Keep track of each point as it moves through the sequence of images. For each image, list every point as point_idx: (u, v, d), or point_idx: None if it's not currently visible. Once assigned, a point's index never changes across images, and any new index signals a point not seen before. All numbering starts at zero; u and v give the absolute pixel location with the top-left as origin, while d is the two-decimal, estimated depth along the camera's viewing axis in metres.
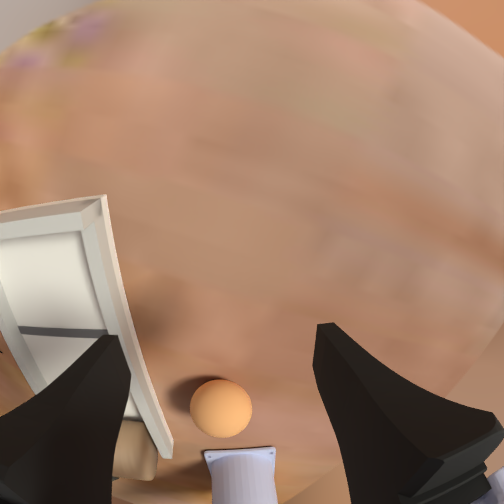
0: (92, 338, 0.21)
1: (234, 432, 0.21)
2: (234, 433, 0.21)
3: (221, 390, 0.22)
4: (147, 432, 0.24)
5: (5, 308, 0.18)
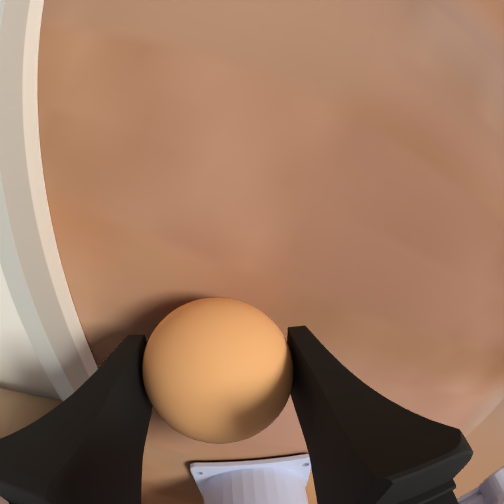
0: None
1: (253, 429, 0.08)
2: (252, 432, 0.08)
3: (218, 312, 0.09)
4: None
5: None
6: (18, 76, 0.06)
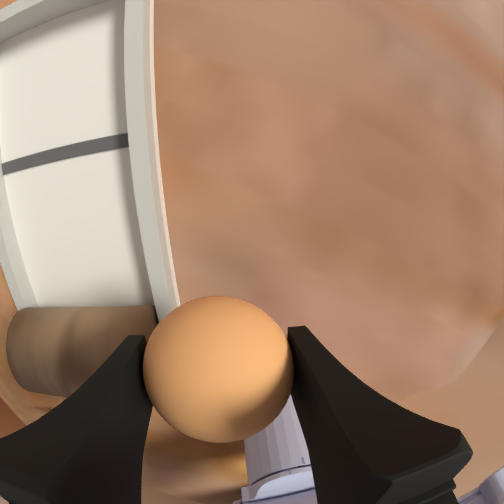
0: (97, 155, 0.15)
1: (254, 427, 0.08)
2: (253, 431, 0.08)
3: (219, 311, 0.09)
4: (156, 324, 0.18)
5: None
6: (150, 77, 0.14)
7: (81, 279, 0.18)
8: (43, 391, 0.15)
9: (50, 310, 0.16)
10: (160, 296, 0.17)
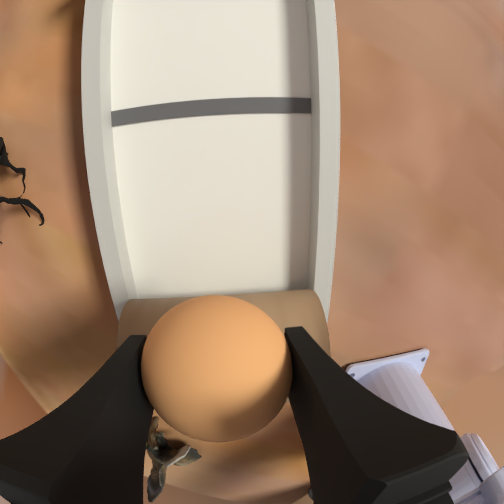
0: (261, 115, 0.14)
1: (252, 427, 0.08)
2: (251, 430, 0.08)
3: (217, 310, 0.09)
4: None
5: (106, 71, 0.12)
6: None
7: (212, 262, 0.17)
8: None
9: (179, 300, 0.15)
10: (322, 278, 0.16)
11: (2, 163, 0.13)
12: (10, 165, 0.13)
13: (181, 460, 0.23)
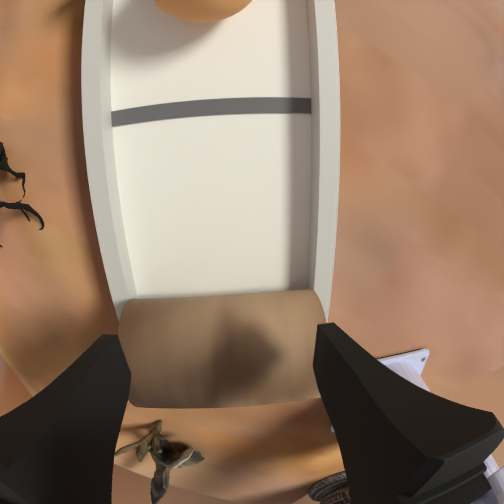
0: (261, 115, 0.14)
1: None
2: None
3: None
4: None
5: (106, 71, 0.12)
6: None
7: (212, 262, 0.17)
8: (167, 405, 0.13)
9: (179, 300, 0.15)
10: (322, 278, 0.16)
11: (2, 168, 0.13)
12: (10, 170, 0.13)
13: (184, 462, 0.23)
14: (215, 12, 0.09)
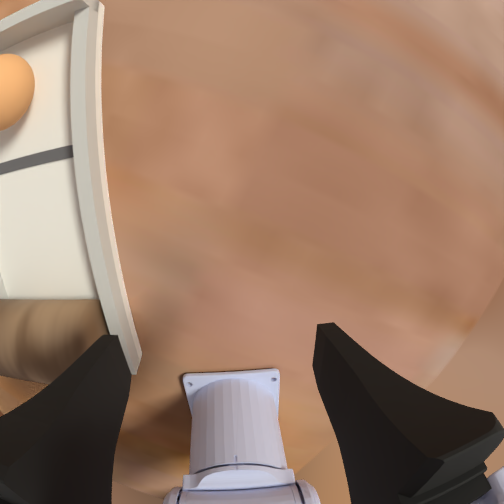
0: (52, 163, 0.16)
1: None
2: None
3: None
4: (102, 317, 0.19)
5: None
6: (94, 93, 0.15)
7: (42, 275, 0.19)
8: (5, 373, 0.15)
9: (14, 301, 0.17)
10: (103, 291, 0.18)
11: None
12: None
13: None
14: (13, 124, 0.13)
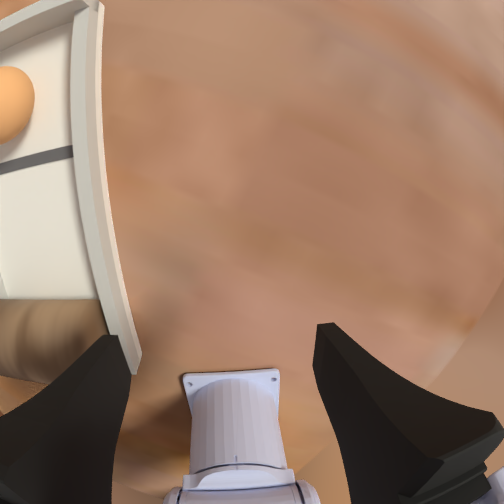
0: (52, 163, 0.16)
1: None
2: None
3: None
4: (102, 317, 0.19)
5: None
6: (94, 93, 0.15)
7: (42, 275, 0.19)
8: (5, 373, 0.15)
9: (14, 301, 0.17)
10: (103, 291, 0.18)
11: None
12: None
13: None
14: None
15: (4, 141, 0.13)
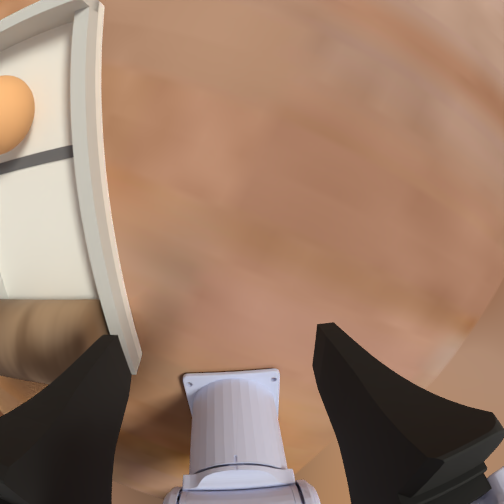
0: (52, 163, 0.16)
1: None
2: None
3: None
4: (102, 317, 0.19)
5: None
6: (94, 93, 0.15)
7: (42, 275, 0.19)
8: (5, 373, 0.15)
9: (14, 301, 0.17)
10: (103, 291, 0.18)
11: None
12: None
13: None
14: None
15: (10, 149, 0.13)
